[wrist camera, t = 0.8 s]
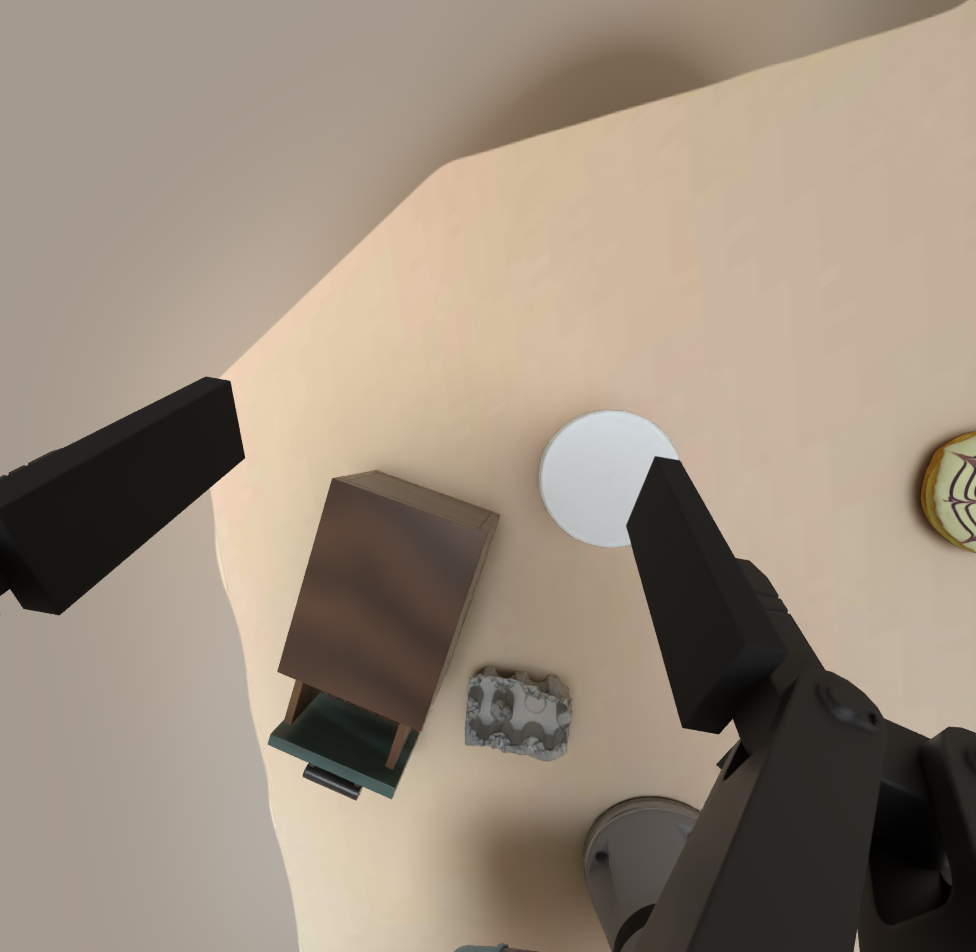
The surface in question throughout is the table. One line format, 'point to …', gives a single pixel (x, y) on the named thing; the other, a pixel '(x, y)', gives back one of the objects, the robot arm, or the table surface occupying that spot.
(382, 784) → the drawer
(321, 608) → the cabinet
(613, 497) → the supplement tub
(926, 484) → the decorated donut
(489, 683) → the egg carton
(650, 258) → the table surface
